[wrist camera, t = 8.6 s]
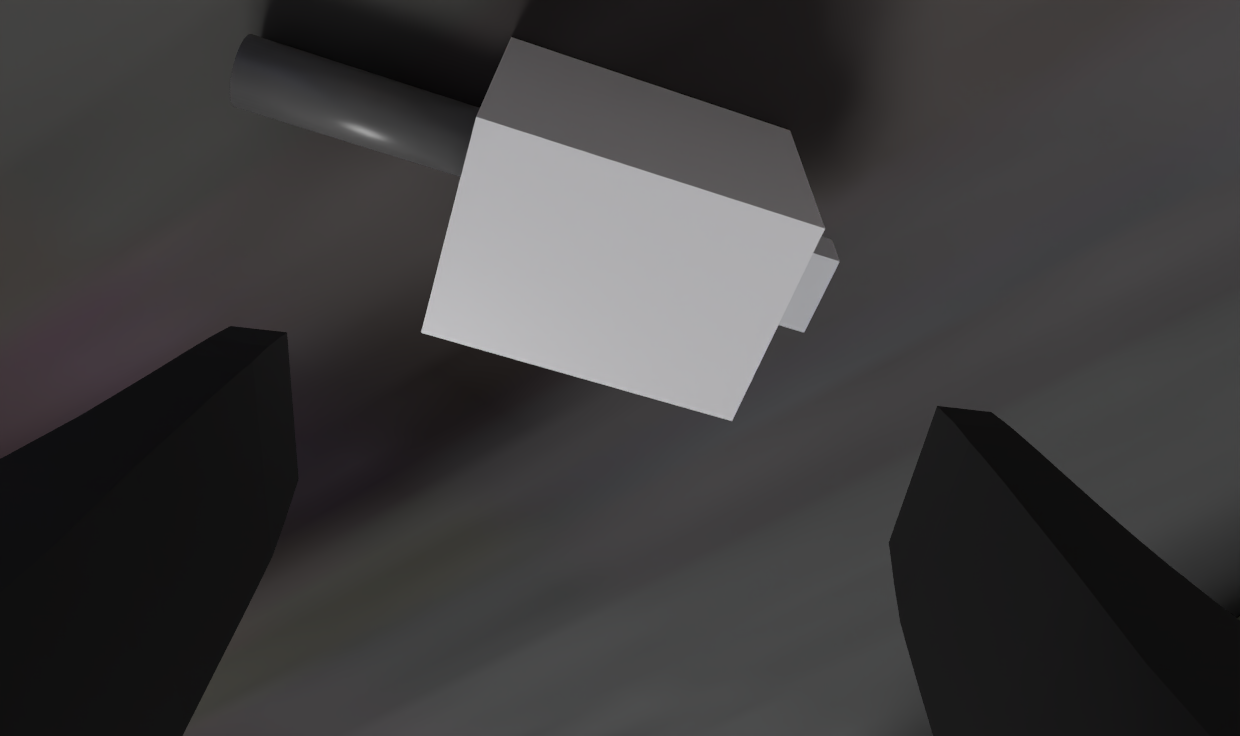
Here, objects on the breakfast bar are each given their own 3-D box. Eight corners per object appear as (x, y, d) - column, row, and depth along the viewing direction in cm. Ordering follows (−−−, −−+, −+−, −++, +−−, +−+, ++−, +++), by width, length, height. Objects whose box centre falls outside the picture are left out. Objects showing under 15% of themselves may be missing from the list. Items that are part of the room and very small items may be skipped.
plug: (243, 154, 18) (148, 255, 14) (268, -45, 16) (166, 17, 12) (764, 313, 19) (790, 437, 16) (843, 148, 17) (889, 249, 14)
